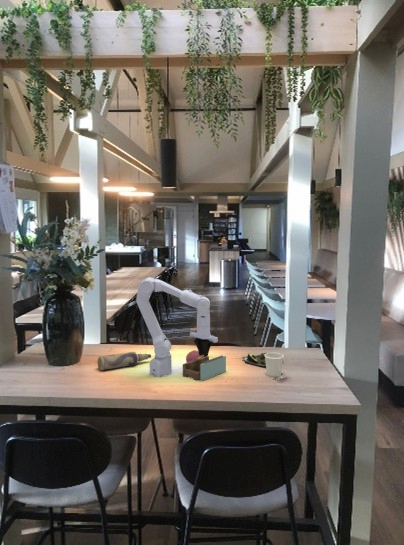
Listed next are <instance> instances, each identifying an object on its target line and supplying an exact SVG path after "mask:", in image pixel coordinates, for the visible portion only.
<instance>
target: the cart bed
mask: <svg viewBox="0 0 404 545" xmlns="http://www.w3.org/2000/svg"><path fill="white" fill-rule="evenodd" d="M207 360H210V356H209V355H208V356H206V357H202V358H199V359H196V360H193V361H190V362H185V363H183V364H182V377H184V378H191V379H193V381H196V382H198V381H201V376H200V364H203V363H204V362H205V361H207ZM201 382H202V381H201Z"/></svg>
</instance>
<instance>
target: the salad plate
mask: <svg viewBox="0 0 404 545" xmlns="http://www.w3.org/2000/svg"><path fill="white" fill-rule="evenodd" d="M266 353H267V352H261V353H258V354H252V353H247V356H243V357H241V359H243V361H244V362H245V364H246V365H249V366H253V367H256V368H257V367H258V368H262V369H266V361H265V356H264V355H265V354H266Z"/></svg>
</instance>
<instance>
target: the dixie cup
mask: <svg viewBox="0 0 404 545" xmlns="http://www.w3.org/2000/svg"><path fill="white" fill-rule="evenodd" d="M265 353H266V354H265V355H264V356H265V361H266V368H265V369H266V375H267V376H268V377H275V378H273V379H272V380H273V381H274V380H275V381H276V380H280V379H281V375H282V370H283V362H284V357H285V356H284V354H283V353H279V352H265Z"/></svg>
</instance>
